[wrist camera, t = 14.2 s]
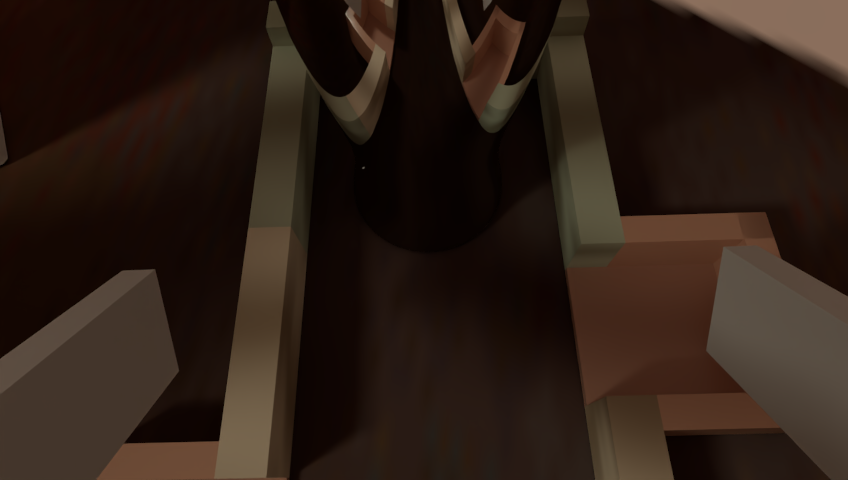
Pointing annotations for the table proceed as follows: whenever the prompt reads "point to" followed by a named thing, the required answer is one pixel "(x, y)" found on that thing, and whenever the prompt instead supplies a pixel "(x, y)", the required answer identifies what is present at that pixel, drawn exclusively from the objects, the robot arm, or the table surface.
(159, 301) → the robot arm
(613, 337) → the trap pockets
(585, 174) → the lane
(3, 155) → the gable box
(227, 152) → the table surface
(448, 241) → the beer glass
